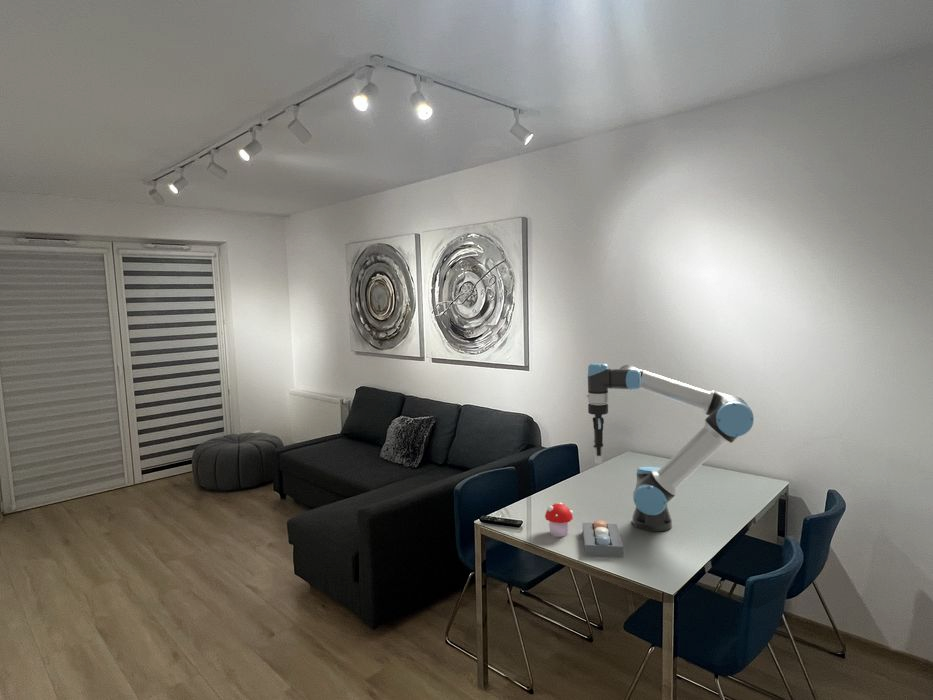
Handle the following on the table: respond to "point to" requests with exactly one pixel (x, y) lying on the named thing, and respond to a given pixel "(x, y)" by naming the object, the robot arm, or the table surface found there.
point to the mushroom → (558, 519)
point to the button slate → (602, 539)
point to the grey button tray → (602, 550)
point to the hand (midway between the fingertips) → (598, 463)
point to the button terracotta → (600, 524)
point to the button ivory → (601, 531)
